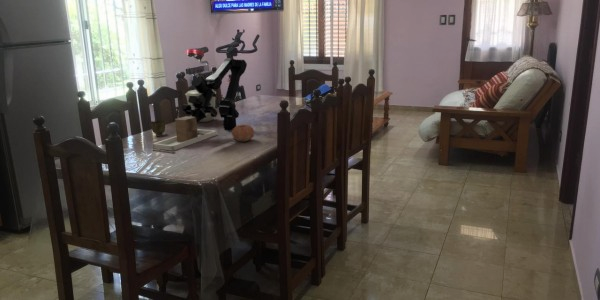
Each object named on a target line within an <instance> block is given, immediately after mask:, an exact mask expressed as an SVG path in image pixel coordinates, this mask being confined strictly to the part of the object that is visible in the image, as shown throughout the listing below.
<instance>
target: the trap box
mask: <svg viewBox="0 0 600 300" xmlns="http://www.w3.org/2000/svg"><path fill="white" fill-rule="evenodd" d="M197 133H198V137H195V138H192V139H190V140H187V141H184V142H177V135H175V136H171V137H169V138H165V139H163V140H160V141H157V142H154V143H152V145H151V146H152V152H155V153H156V152H157V153H163V154H176V150H178V149H179V150H180V149H181V148H184V147H187V146H191V145H192V144H195V143H198V142H200V141H203V140H206V139H209V138H213V137H214V136H217V135H218V133H217V130H213V129H211V130H210V129H199V128H197ZM173 151H175V152H173Z"/></svg>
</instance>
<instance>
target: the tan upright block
mask: <svg viewBox="0 0 600 300" xmlns="http://www.w3.org/2000/svg"><path fill="white" fill-rule="evenodd" d="M174 121H175V131H176V132H175V133H176V136H177V142H184V141H187V140H190V139H192V138H195V137H198V136H199V134H198V133H197V129H198V125H197V124H198V123H197V121H196V117H191V116H190V115H185V116H182V117H179V118H175V119H174Z"/></svg>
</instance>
